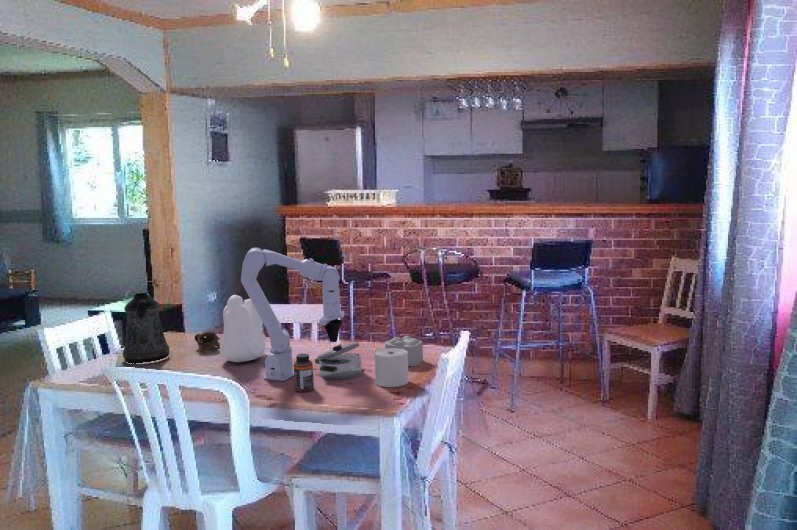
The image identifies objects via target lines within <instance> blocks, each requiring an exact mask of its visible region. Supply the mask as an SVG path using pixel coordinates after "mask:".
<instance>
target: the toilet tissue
mask: <svg viewBox="0 0 797 530" xmlns="http://www.w3.org/2000/svg"><path fill="white" fill-rule="evenodd" d="M374 374H375V384H376V386H379V387H382V386H383V387H384V388H398V387H402V386H406V385H407V384H409V382H410V381H409V367H408V352H407V351H406V350H404V349H398V348H388V349H385V348H383V349H382V348H381V349H380V347H377V348H375V350H374Z"/></svg>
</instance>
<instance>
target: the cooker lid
mask: <svg viewBox="0 0 797 530" xmlns="http://www.w3.org/2000/svg"><path fill="white" fill-rule="evenodd" d="M359 346H360V343H359V341H357V342H352V343H351V342H350V343H348V344H345V345H342V344H337V345H335V346H332V347H331V349H329V350H328V351H327V350H326V351H324V352H322V353H321V354H318V355H317V356H316V358H318V360H322V359H326V358H330V357H333V356H336V355H339V354H345V353H349V352H351V351H352V350H355V349H356V348H358V347H359Z"/></svg>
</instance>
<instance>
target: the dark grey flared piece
mask: <svg viewBox="0 0 797 530" xmlns="http://www.w3.org/2000/svg"><path fill="white" fill-rule="evenodd" d="M160 306H161V305H160V303H159V302H158V301H157V300H155V299H153V298H152V297H151V296H150V295H148V293H147V292H140V293H136V294H134V296H133V298H132V299H131V300H129V302H128V303H126V305H125V306H124V308H123V309H124V312H125V313H126V327H125V342H124V348H123V350H122V351H123V352H122V356H123V360H124V362H128V363H132V364H133V363H134V364H136V363H143V362H151V361H156V360H160V359H163V358H166V357H167V356H168V355H169V356H170V347H169V344H168V343H167V339H166V337H165V333H164V330H163V325H162V322H161V318H160V314H159V313H160V312H159V310H160Z"/></svg>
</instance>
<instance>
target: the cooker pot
mask: <svg viewBox="0 0 797 530" xmlns="http://www.w3.org/2000/svg"><path fill="white" fill-rule="evenodd" d="M314 364H316V365H319V376H320V377H321V378H322V379H325V380H332V381H334V380H335V381H340V380H341V381H342V380H343V379H344V380H350V379H354V378H357V377H359V376H361V375H362V357H361V356H360V354H359V353H351V352H345V353H342V354H339V355H336V356H333V357H330V358H326V359H322V360H318V358H317V357H316V358H314ZM356 376H357V377H356ZM353 377H354V378H353Z"/></svg>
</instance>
